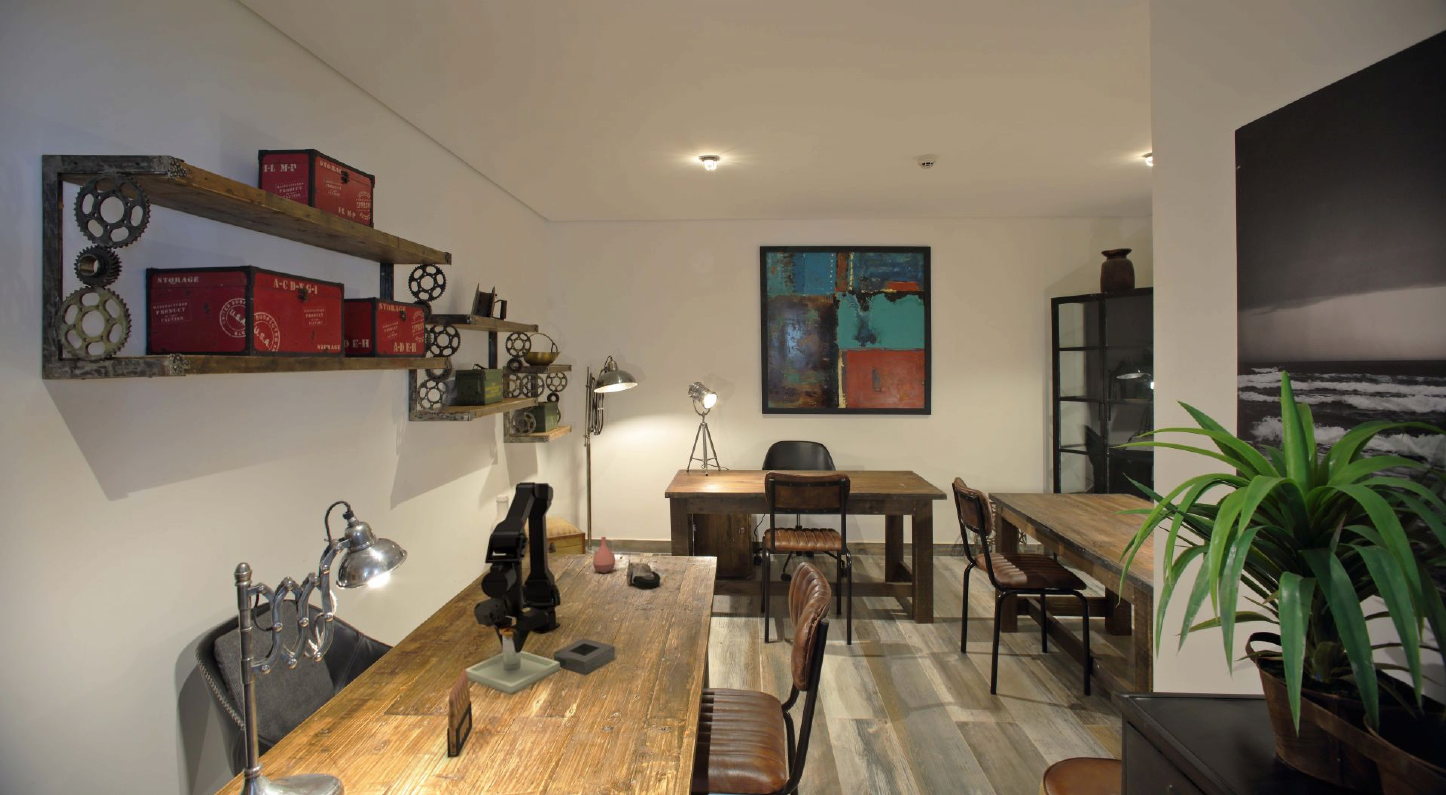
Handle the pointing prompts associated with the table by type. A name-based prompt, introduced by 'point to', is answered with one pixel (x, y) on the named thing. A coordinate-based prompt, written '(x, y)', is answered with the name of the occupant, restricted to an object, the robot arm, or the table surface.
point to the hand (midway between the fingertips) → (511, 650)
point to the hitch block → (584, 656)
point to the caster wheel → (642, 576)
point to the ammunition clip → (459, 715)
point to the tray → (512, 672)
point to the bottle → (500, 512)
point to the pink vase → (604, 558)
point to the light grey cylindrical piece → (509, 649)
